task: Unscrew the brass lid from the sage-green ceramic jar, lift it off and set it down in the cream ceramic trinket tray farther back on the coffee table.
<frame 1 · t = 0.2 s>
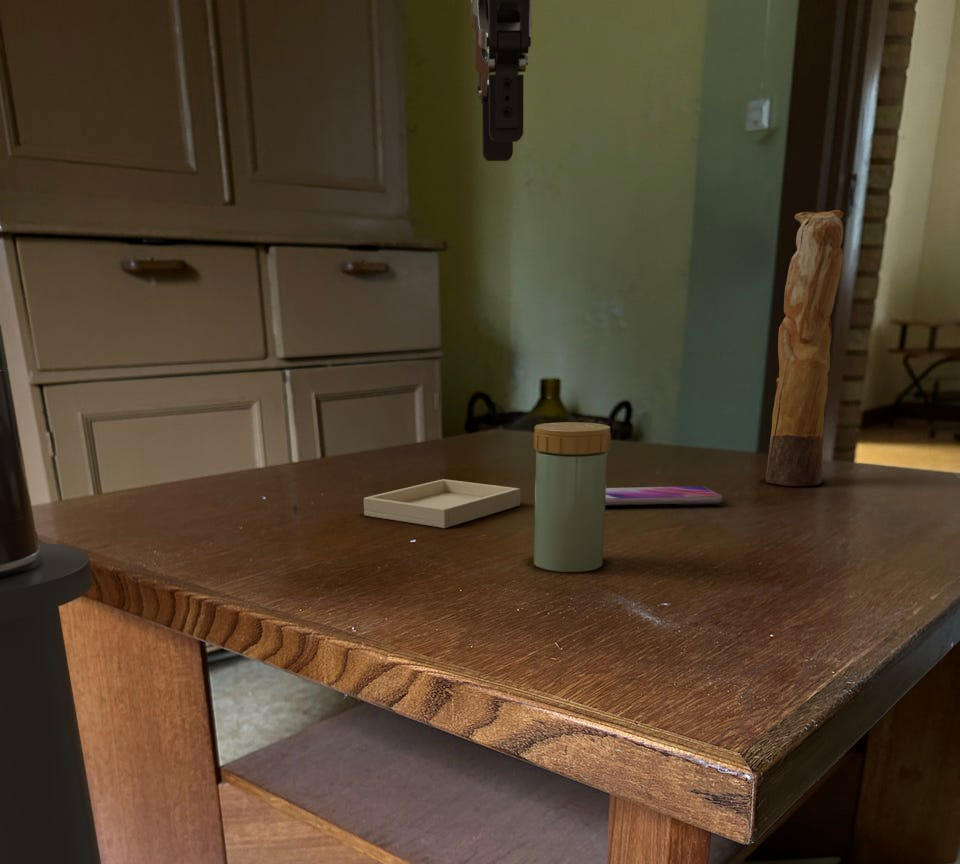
hand: (501, 151, 64), 30 cm above the table, tool pointing down, fingers open, 8 cm apart
smartphone: (644, 501, 98), on the table
jar lid: (572, 431, 71), point 10 cm above the table, screwed on, not yet turned
jar: (568, 563, 74), on the table
tray: (444, 510, 94), on the table
sculpture: (791, 482, 110), on the table
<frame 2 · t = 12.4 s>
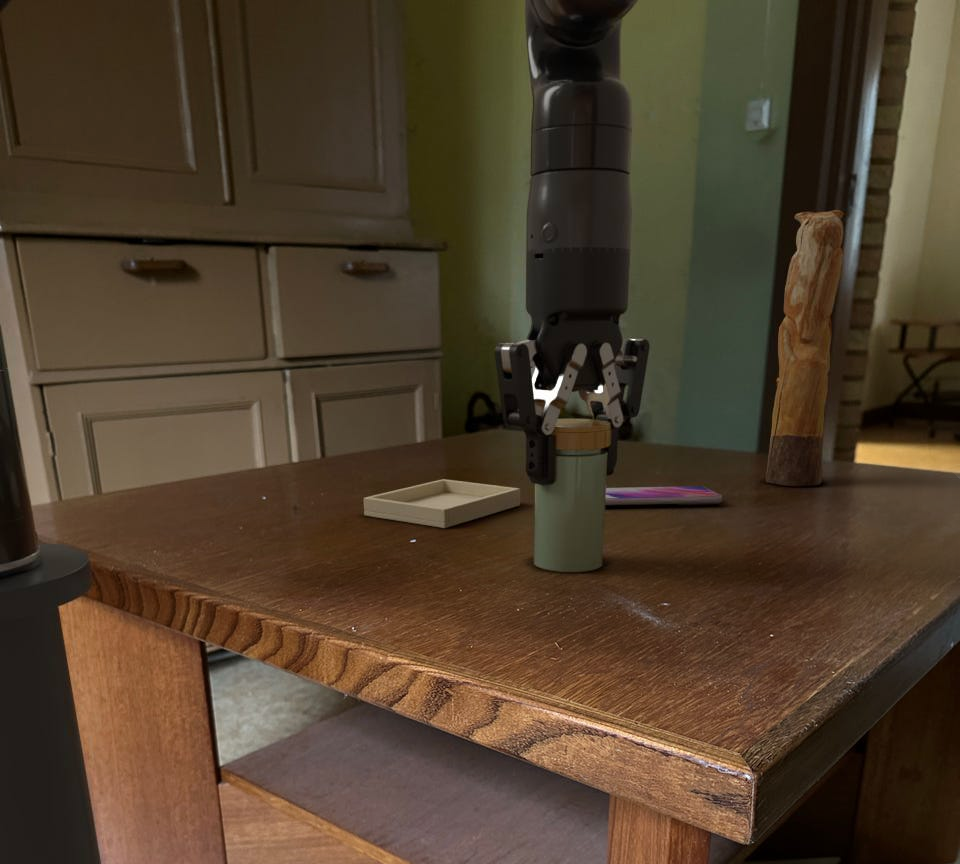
hand: (571, 478, 72), 7 cm above the table, tool pointing down, fingers closed on jar lid, 5 cm apart
jar lid: (572, 427, 70), point 11 cm above the table, turned 213° so far, risen 0.3 cm, still on its thread, touching gripper
jar: (567, 563, 74), on the table, touching gripper
everything else where it was.
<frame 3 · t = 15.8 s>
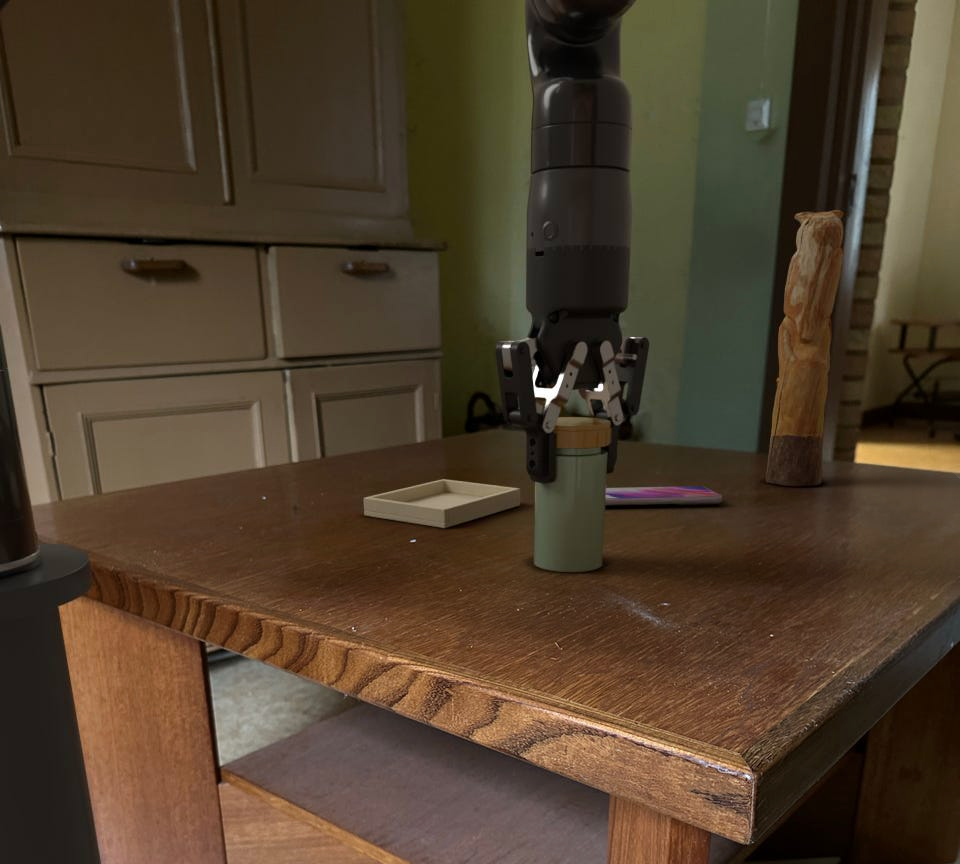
hand: (572, 476, 72), 7 cm above the table, tool pointing down, fingers closed on jar lid, 5 cm apart
jar lid: (572, 426, 70), point 11 cm above the table, turned 285° so far, risen 0.4 cm, still on its thread, touching gripper
everything else where it was.
when the fingers open (2 cm above the table, at t = 38.3 s): jar lid drops 3 cm, resting on tray.
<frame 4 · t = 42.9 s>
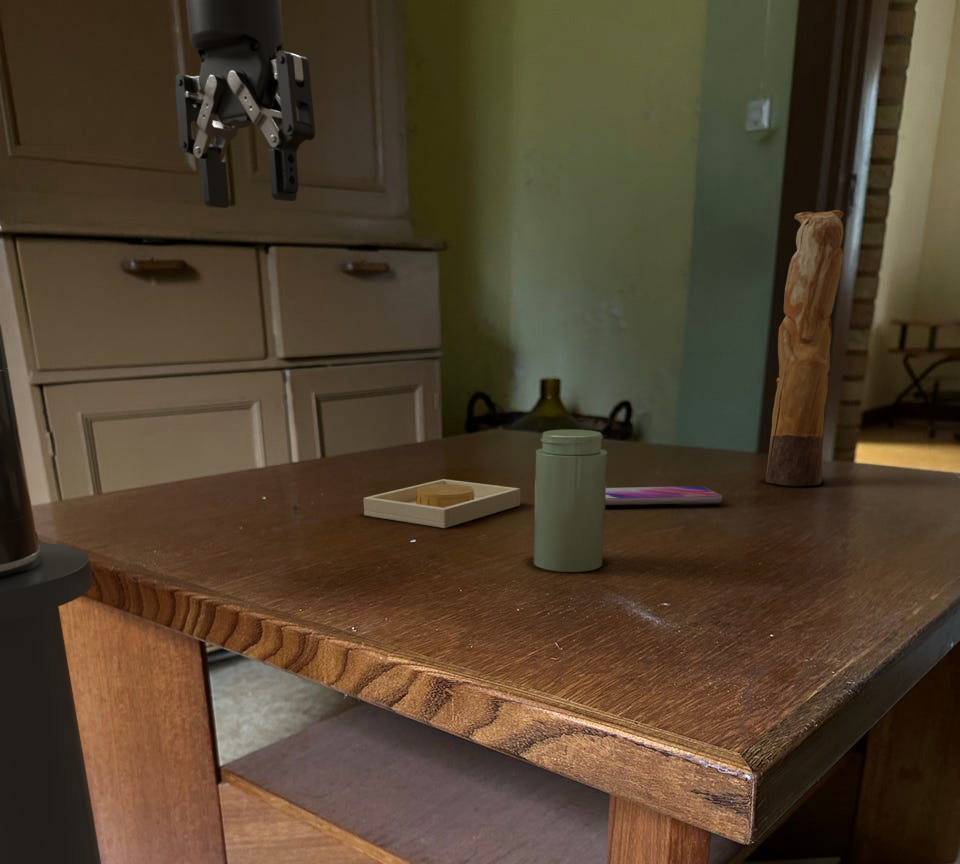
hand: (249, 204, 79), 28 cm above the table, tool pointing down, fingers open, 8 cm apart
jar lid: (445, 493, 93), point 2 cm above the table, off its thread, touching tray
jar: (567, 563, 74), on the table
everything else where it was.
at the end: jar lid came off its thread; jar lid inside the target area on the tray (0.1 cm from its centre), point 1.8 cm above the tray's base; the gripper is holding nothing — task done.
